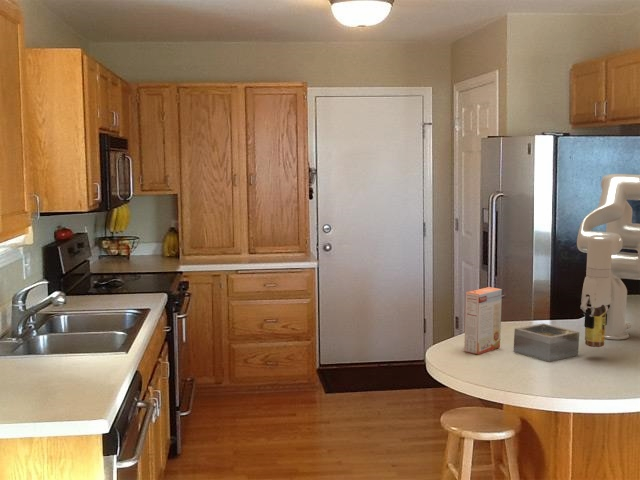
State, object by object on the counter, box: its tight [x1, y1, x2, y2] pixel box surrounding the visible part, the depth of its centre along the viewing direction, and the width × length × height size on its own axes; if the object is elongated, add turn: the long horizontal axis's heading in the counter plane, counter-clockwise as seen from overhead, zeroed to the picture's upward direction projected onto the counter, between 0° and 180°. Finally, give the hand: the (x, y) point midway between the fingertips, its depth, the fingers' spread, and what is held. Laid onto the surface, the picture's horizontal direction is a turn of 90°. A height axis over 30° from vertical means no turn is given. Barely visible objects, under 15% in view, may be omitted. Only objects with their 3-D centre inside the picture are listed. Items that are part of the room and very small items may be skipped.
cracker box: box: [463, 286, 503, 356], centre depth 268 cm, size 14×6×21 cm, turn 134°
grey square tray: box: [513, 323, 580, 363], centre depth 266 cm, size 17×15×8 cm
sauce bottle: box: [584, 305, 606, 348], centre depth 259 cm, size 7×6×20 cm
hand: (595, 325), depth 260 cm, fingers closed on sauce bottle, 6 cm apart
